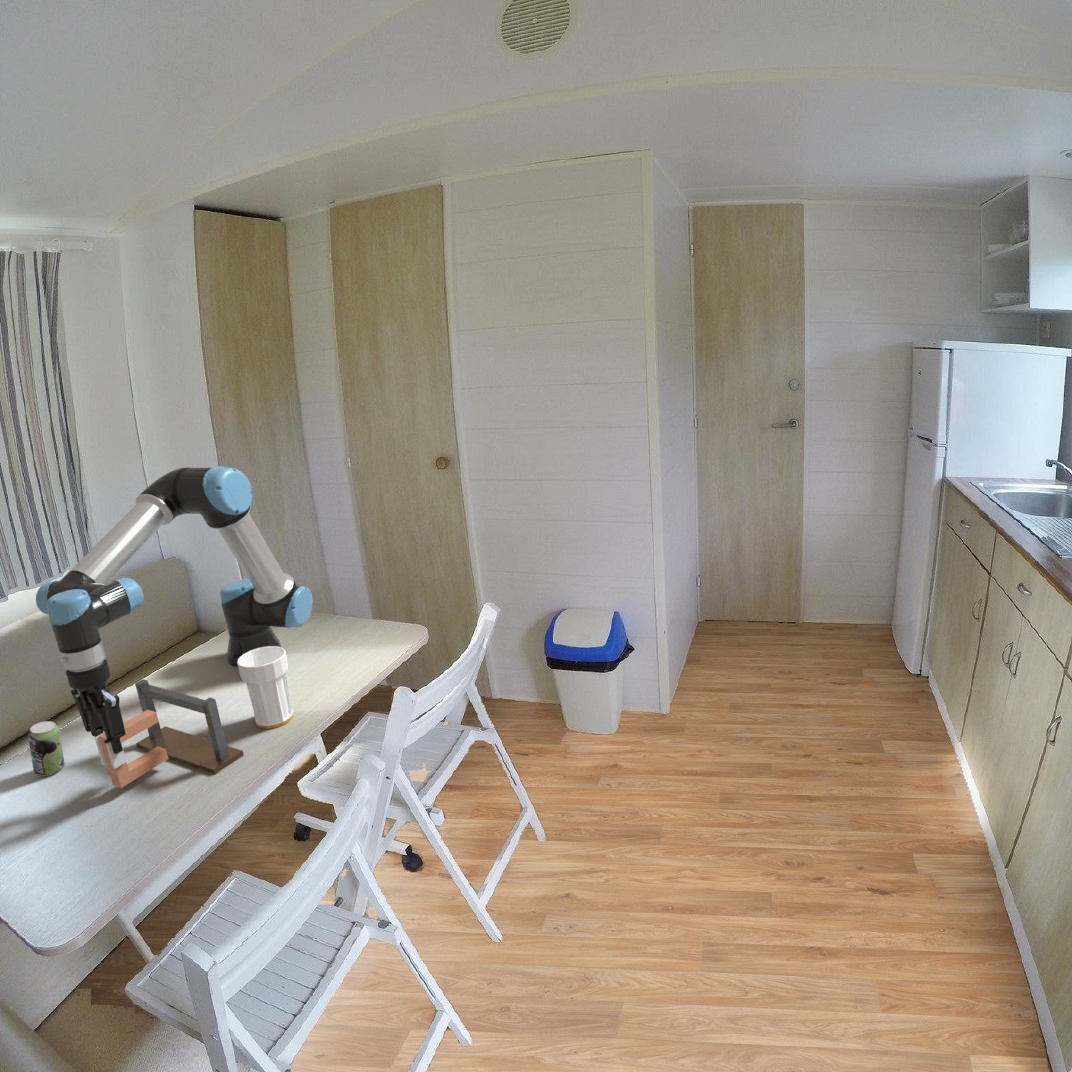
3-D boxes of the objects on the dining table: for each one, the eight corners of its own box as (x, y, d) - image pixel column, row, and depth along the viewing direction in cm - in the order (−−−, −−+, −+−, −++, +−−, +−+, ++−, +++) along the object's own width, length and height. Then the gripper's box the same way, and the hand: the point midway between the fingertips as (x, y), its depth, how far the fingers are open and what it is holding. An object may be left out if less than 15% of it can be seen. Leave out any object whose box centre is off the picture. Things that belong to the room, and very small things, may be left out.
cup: (241, 728, 189) (226, 664, 184) (271, 704, 199) (258, 643, 193) (278, 734, 185) (264, 669, 179) (307, 710, 195) (295, 648, 189)
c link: (112, 784, 166) (98, 736, 163) (160, 755, 176) (147, 709, 172) (121, 787, 165) (107, 739, 161) (168, 758, 174) (156, 712, 171)
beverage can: (43, 765, 180) (29, 720, 177) (76, 761, 181) (62, 716, 177) (29, 781, 174) (14, 735, 171) (62, 776, 175) (48, 731, 171)
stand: (137, 747, 184) (120, 688, 179) (166, 730, 191) (151, 672, 186) (215, 774, 171) (199, 711, 166) (243, 755, 177) (229, 693, 172)
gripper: (45, 666, 158) (75, 764, 165) (91, 679, 151) (121, 781, 158) (80, 650, 165) (108, 745, 172) (126, 662, 157) (153, 761, 164)
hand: (114, 762), depth 165 cm, fingers closed on c link, 3 cm apart
